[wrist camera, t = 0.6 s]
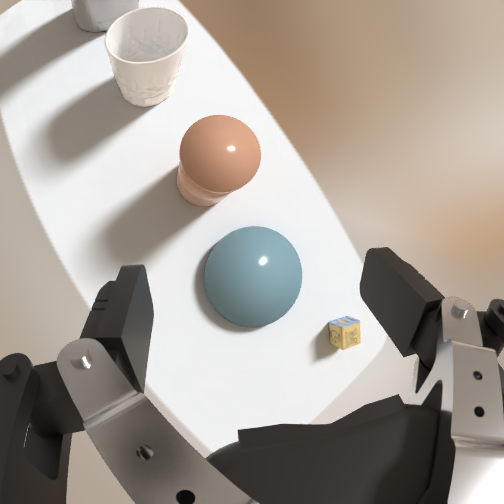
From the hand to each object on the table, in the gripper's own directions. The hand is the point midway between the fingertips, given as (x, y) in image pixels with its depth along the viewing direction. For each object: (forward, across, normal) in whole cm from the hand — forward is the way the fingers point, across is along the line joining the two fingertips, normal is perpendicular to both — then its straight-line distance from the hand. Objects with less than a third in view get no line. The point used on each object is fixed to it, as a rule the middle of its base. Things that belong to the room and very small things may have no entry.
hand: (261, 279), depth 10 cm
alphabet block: (+18, -14, +20) cm, 30 cm away
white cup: (+28, +8, -9) cm, 31 cm away
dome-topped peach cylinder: (+24, +2, +2) cm, 24 cm away
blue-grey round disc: (+19, -3, +12) cm, 23 cm away
